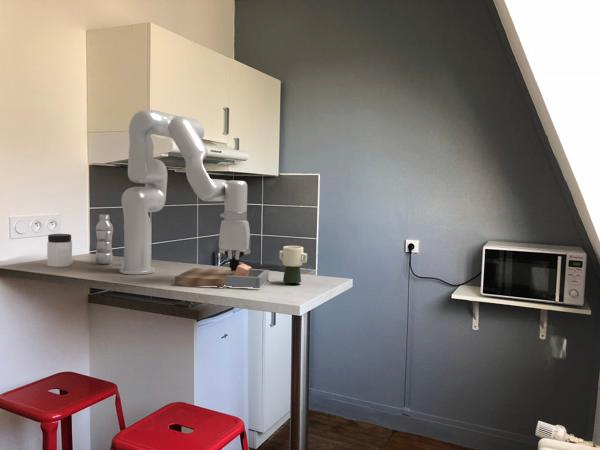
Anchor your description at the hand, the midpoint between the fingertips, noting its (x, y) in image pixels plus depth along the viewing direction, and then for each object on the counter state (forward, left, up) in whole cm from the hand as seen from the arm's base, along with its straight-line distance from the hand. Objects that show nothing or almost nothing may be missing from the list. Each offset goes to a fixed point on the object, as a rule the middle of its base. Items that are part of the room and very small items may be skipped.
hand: (234, 270), depth 171 cm
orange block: (+1, 0, -1) cm, 1 cm away
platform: (-10, 0, -4) cm, 11 cm away
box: (+4, 0, -4) cm, 6 cm away
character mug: (+19, +5, -5) cm, 21 cm away
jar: (-74, +16, -5) cm, 76 cm away
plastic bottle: (-60, +24, -5) cm, 64 cm away
